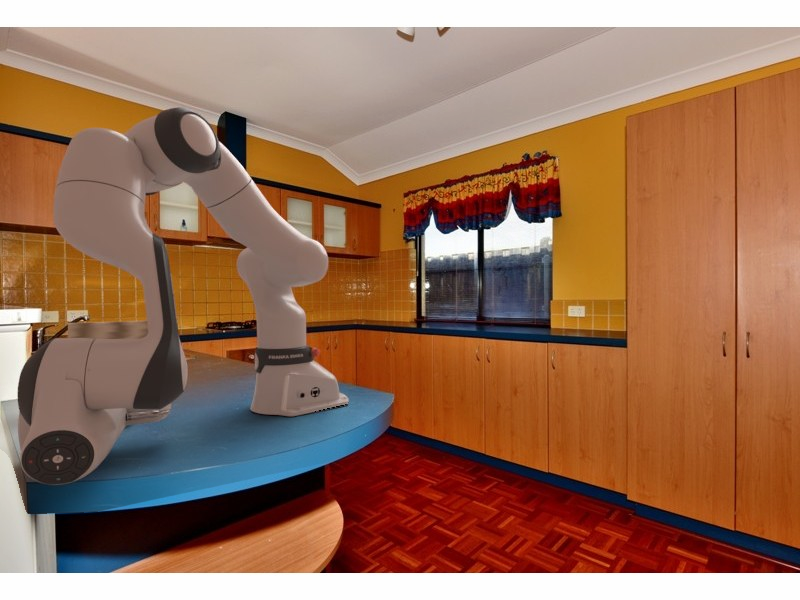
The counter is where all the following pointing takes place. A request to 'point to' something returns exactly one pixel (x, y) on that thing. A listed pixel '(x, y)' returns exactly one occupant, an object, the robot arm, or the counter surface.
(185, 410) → the counter surface
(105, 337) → the wall board
